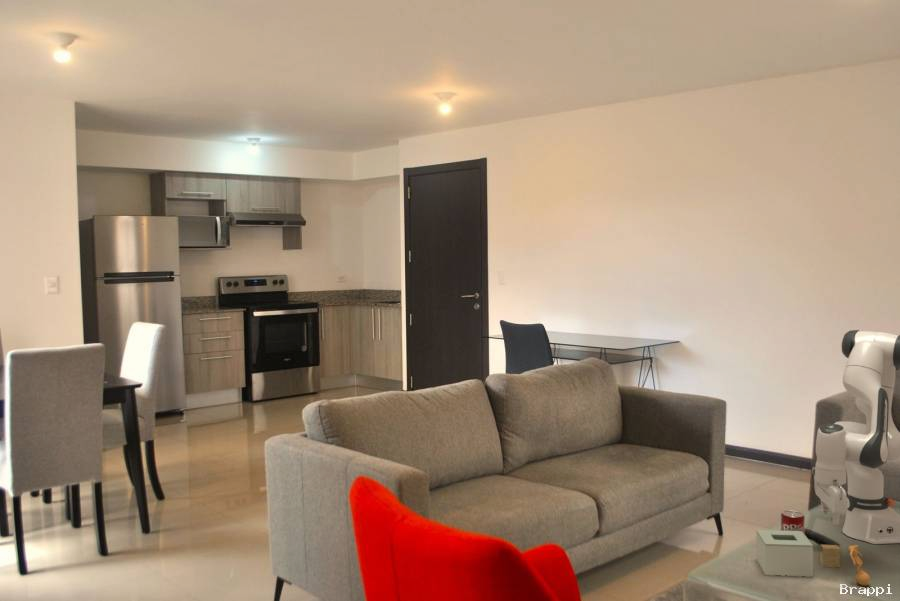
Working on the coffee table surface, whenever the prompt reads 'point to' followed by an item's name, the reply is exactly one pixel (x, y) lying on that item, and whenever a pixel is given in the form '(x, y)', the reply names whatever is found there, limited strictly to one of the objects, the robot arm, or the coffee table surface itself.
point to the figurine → (861, 576)
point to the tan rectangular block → (830, 555)
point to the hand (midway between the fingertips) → (830, 518)
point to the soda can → (792, 521)
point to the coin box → (784, 553)
